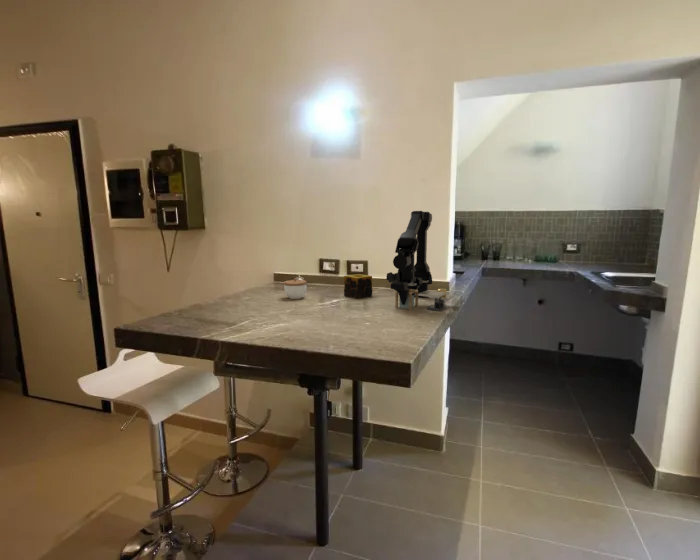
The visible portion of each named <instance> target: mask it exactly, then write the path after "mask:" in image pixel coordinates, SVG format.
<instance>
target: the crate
mask: <svg viewBox="0 0 700 560" xmlns="http://www.w3.org/2000/svg"><path fill="white" fill-rule="evenodd" d="M415 292H416V293H415ZM412 293H415V294H416V295H415V296H414V307H415V308H416V307H418V306H419V297H418V290H414V289H410V290H409V293H408V294H409V309H408V310H409V311H410V310H412V308H413V307H412ZM394 302H395V303H394V305H395V308H396V309H398V307H399V294H398V292H397V291H396V290H395V301H394Z"/></svg>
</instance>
